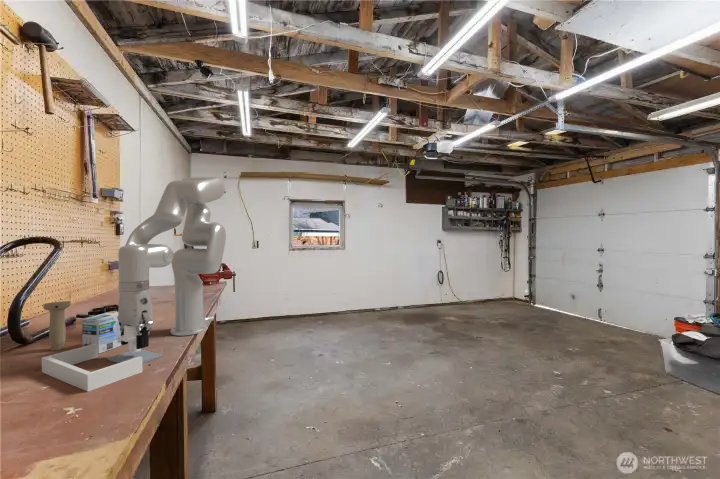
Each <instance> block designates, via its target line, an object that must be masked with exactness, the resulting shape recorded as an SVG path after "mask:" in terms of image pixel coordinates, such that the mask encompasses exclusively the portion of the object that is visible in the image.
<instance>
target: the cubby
mask: <svg viewBox="0 0 720 479" xmlns="http://www.w3.org/2000/svg"><path fill="white" fill-rule="evenodd" d="M98 357H99V354H98V344H92V345H88V346H84V347H83V346H81V347H78V348H72V349H69V350H65V351H61V352H58V353H54V354H53V353H52V354H50V355H46V356H42V357H41V373H43V374H46V375H48V376H50V377H52V378H54V379H57V380H59V381H61V382H64V383H67V384H69V385H71V386H73V387H76V388H78V389H80V390H83V391H85V392H87V393H88V392H91V391H93V390H94V391H95V390H96V389H100V388H102V387H105V386H107V385H110V384H113V383H115V382H118V381H121V380H123V379H127V378H129V377H132V376H134V375H137V374H138V375H139V374H140V373H143V363H142V357H136V358H133V359H130V360H127V361H124V362H121V363H115V364H112V365H109V366H106V367H103V368H100V369H96V370H94V371H93V370H92V371H89V370H86V369H83V368H80V367H78V366H76V364H79V363H83V362H85V361H89V360H93V359H96V358H98Z"/></svg>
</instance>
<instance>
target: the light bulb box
mask: <svg viewBox="0 0 720 479" xmlns="http://www.w3.org/2000/svg"><path fill="white" fill-rule="evenodd" d="M117 316H118V311H115V310H113V311H108V312H104V313H101V314H97V315H93V316H92V315H91V316H89V317H84V318H81V321H82V322H81V323H82V327H81V328H82V331H81V332H82V341H81V342H82V347H84V346H88V345H92V344H98V355H99V354H102V353H105V352H107V351H110V350H114V349H117V348H119V347H122V346H123V345H121V340H120V336H121V332H122V331H120V325H119V321H118V319H117Z"/></svg>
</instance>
